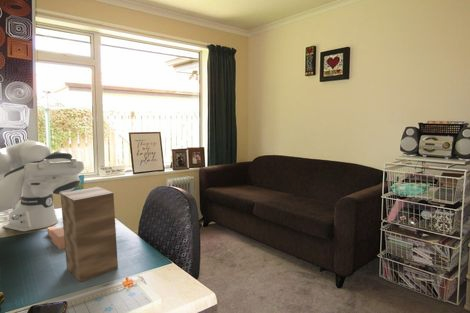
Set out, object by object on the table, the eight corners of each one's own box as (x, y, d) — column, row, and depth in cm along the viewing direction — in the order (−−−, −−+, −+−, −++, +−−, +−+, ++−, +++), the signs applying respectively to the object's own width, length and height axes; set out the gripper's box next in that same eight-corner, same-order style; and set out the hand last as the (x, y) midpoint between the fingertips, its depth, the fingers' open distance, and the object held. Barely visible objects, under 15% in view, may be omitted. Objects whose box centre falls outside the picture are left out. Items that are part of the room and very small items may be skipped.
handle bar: (45, 234, 132) (44, 223, 131) (58, 231, 136) (57, 220, 135) (60, 249, 118) (58, 237, 117) (74, 245, 122) (73, 233, 121)
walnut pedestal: (66, 268, 104) (60, 193, 100) (102, 256, 112) (97, 186, 108) (80, 282, 95) (74, 200, 92) (117, 268, 104) (113, 192, 100)
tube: (71, 213, 159) (68, 177, 157) (70, 211, 163) (67, 175, 161) (87, 211, 164) (84, 175, 161) (85, 208, 168) (83, 174, 165)
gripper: (78, 180, 131) (91, 166, 123) (22, 185, 116) (31, 169, 108) (75, 166, 133) (87, 152, 125) (19, 170, 118) (28, 153, 109)
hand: (61, 160), depth 116 cm, fingers open, 8 cm apart
